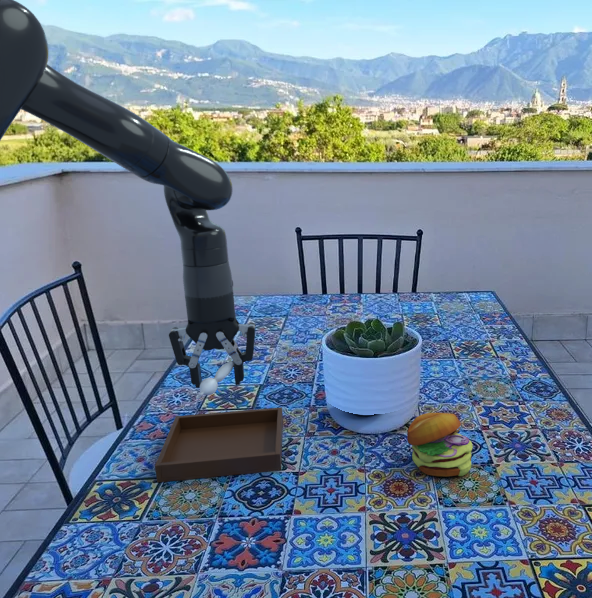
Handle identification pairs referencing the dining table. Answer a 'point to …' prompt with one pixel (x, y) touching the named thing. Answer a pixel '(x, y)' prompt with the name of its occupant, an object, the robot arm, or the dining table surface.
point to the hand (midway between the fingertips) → (218, 384)
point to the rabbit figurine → (215, 380)
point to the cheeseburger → (439, 445)
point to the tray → (222, 445)
